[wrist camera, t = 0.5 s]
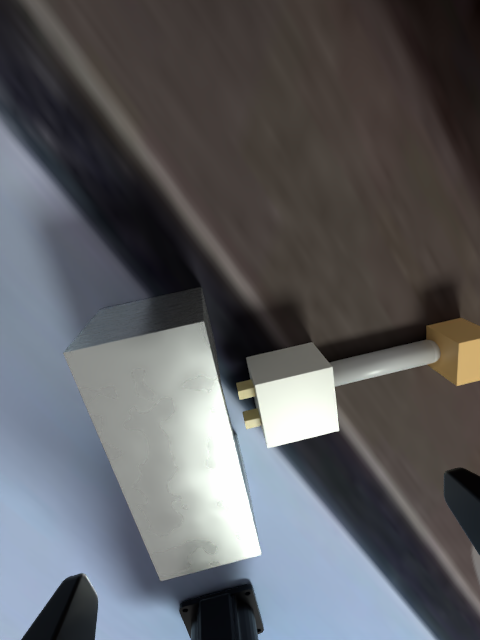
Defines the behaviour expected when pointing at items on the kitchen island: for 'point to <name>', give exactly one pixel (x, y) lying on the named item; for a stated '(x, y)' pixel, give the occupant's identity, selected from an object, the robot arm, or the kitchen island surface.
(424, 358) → the dumbbell shaped bar
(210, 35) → the kitchen island surface
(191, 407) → the white bridge block
